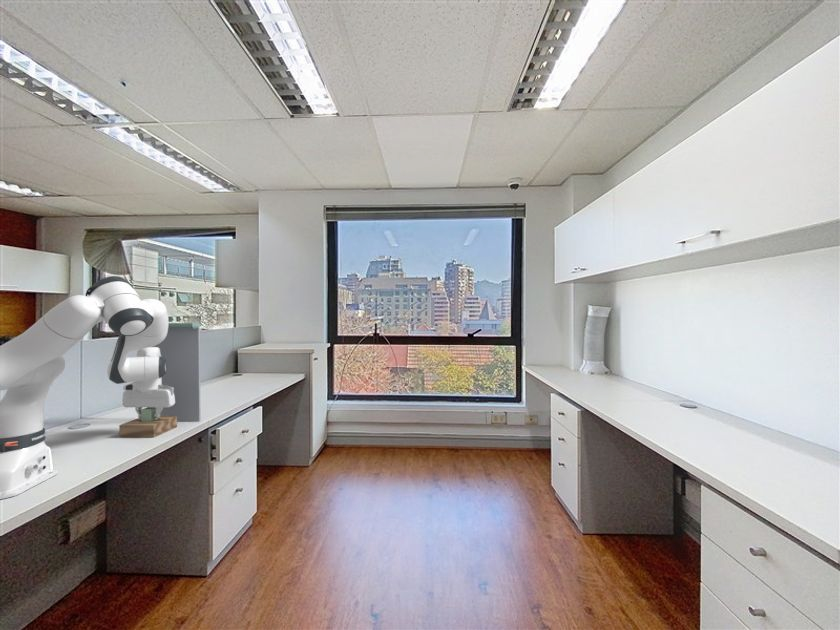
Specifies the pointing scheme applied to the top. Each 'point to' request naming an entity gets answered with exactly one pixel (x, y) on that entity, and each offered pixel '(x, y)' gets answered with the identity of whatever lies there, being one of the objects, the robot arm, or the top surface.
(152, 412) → the peg
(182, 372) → the tall box with lid
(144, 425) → the socket block
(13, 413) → the robot arm
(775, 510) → the top surface
